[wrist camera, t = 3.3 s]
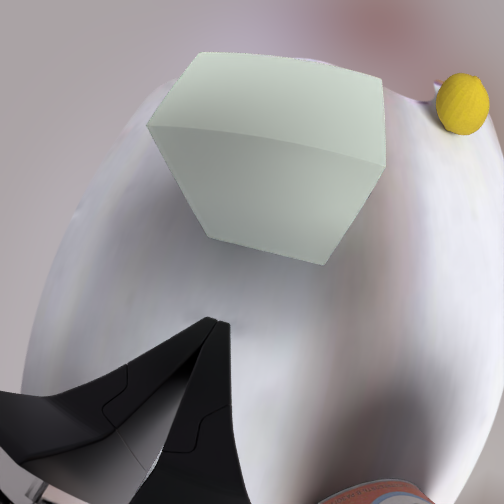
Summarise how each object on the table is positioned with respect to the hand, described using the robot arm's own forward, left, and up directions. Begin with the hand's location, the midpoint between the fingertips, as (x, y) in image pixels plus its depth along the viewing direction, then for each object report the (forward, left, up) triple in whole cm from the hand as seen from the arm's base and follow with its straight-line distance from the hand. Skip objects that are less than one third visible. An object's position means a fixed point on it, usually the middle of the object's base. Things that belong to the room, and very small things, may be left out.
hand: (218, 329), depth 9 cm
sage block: (+8, -2, -8) cm, 12 cm away
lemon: (+19, -21, -8) cm, 29 cm away
